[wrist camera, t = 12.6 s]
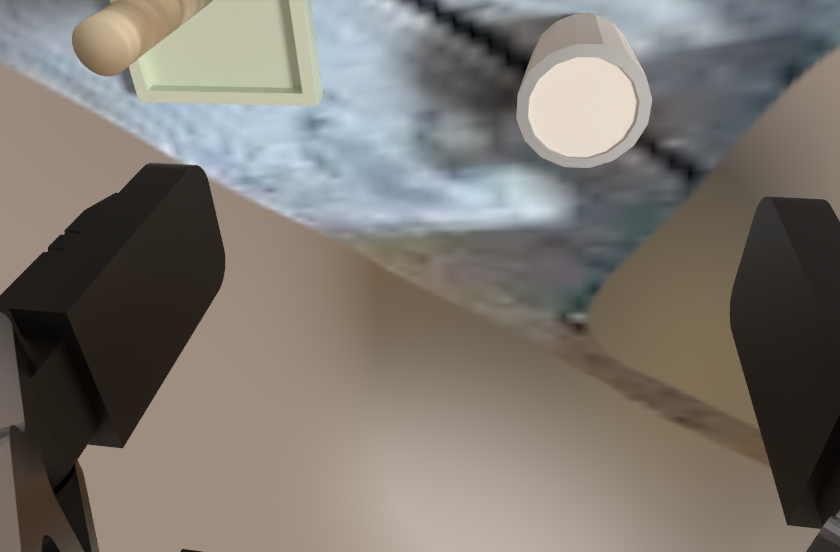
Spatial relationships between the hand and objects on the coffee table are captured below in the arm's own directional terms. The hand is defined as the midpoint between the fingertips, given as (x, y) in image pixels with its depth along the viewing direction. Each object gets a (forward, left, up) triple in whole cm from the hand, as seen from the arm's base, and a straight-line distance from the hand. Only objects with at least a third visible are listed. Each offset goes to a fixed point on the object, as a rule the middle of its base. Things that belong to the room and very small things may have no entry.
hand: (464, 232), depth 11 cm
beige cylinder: (+10, +3, -34) cm, 35 cm away
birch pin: (+5, -19, -33) cm, 38 cm away
